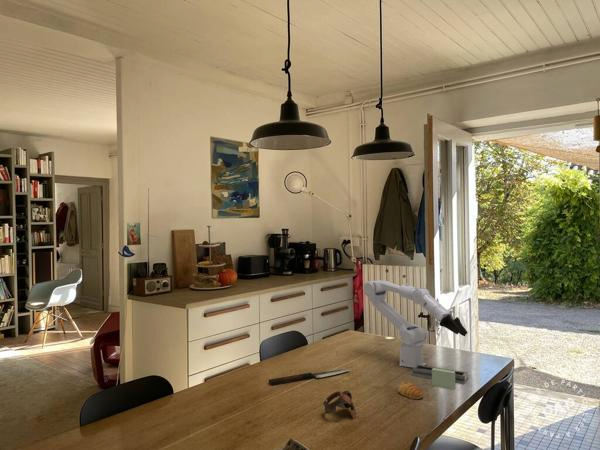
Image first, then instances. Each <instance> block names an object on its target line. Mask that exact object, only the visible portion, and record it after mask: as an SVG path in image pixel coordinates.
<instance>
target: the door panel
mask: <svg viewBox="0 0 600 450" xmlns="http://www.w3.org/2000/svg"><path fill="white" fill-rule="evenodd" d="M436 368H437V367H435V368H433V369H432V379H431V386H433V387H440V388H444V389H451V390H455V388H456V383H455V371H456V370H454V371H449V370H450V369H447V370H443V369H444V368H441V369H436Z"/></svg>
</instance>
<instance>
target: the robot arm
mask: <svg viewBox="0 0 600 450" xmlns="http://www.w3.org/2000/svg"><path fill="white" fill-rule="evenodd" d="M363 291H364V292H363V293H364V295H365V296H366V297H367V298H368V299H369V301H370V303H371V305H372V306H373V307H374V309H376V310H377V312H379V313H380V314H381V315H382V316H383V317H384V318H385V319H387V321H389V322H390V323H391V324H392V325H393V326H394V327H395V328H396V329H397V330H398V336H399V337H400V338H401V340H402V341H403V343H400V346H399V364H398V365H399V366H400V367H406V368H412V369H413V368H414V367H415V366H416V365H422V366H427V363H426V362H424V343H425V341H426V340H427V331H426V330H425V328H423V327H421V326H418V325H417V324H415V323H411V322H409V321H408V320H407V319H406V318H404V317H403V316H402V315H401V314H400V312H398V311H397V310H396V309H395V308H394V307H392V306H391V304H390V303H388V302H387V301H386V299H387V298H386V297H387V292H391V293H395V294H398V295H399V297H400V298H403V299H406V300H409V301H413V304H416V305H419V306H420V307H422V308H423V309H425V310H426V311H427V313H429V315H430V316H432V317H433V318H434V319H435V320H436V321H437V322H438V323H439V324H438V325H439V326H440V327H443V328H446V329H447V330H449V331H451V332H453V334H455V335H458V334H459V335H461V336H463V337H466V335H467V334H468V333H469V332H468V331H467V329H466V328H465V327H464V326H463V324H462V322H461V319H460V318H459V317H457V316H456V317H455V318H454V316H453V314H452V313H454V311H453V310H452V309H449V310H448V309H447V308H445V306H443V305H442V304H441V303H440V302H439V301H438V300H436V299H435V298H434V296H432V295H431V292H430V290H429V289H427V288H425V287H423V288H419V287H418V286H412V285H410V283H405V284H402V285H398V284H395V283H392V282H391V281H388V280H385V279H384V280H383V279H377V280H371V281H370V280H368V281H365V282H364V284H363Z"/></svg>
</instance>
